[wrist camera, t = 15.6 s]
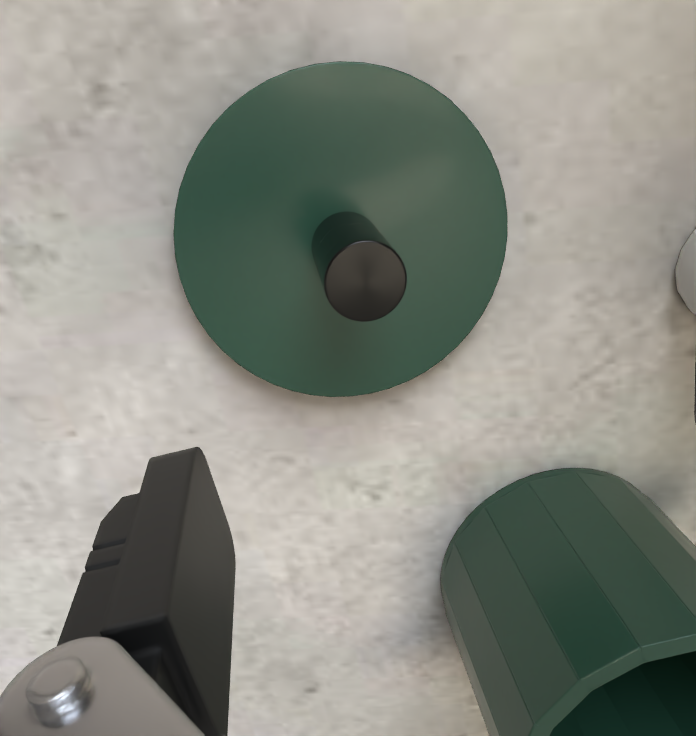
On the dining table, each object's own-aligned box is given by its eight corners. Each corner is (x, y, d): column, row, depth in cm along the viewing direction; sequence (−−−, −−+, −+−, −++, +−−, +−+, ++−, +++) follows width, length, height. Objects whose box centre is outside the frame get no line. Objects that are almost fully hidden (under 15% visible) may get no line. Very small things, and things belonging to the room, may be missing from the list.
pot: (351, 576, 32) (391, 781, 23) (661, 394, 31) (846, 535, 21) (459, 706, 37) (530, 923, 28) (735, 555, 35) (913, 731, 26)
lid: (104, 191, 24) (59, 223, 19) (399, -15, 23) (446, -46, 17) (297, 437, 29) (307, 521, 24) (548, 281, 28) (622, 331, 22)
